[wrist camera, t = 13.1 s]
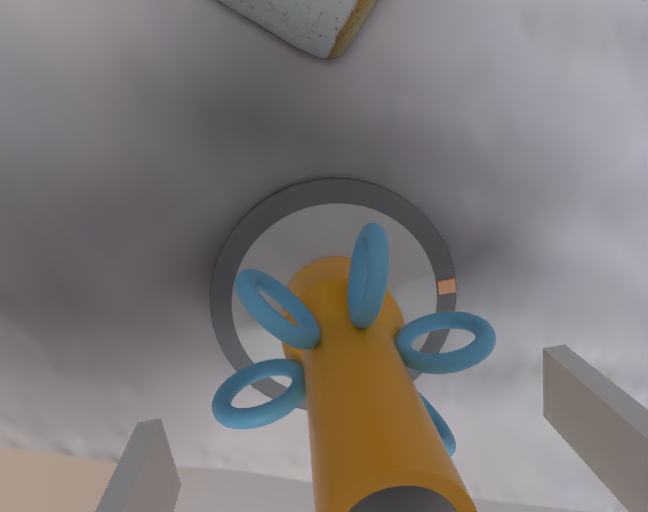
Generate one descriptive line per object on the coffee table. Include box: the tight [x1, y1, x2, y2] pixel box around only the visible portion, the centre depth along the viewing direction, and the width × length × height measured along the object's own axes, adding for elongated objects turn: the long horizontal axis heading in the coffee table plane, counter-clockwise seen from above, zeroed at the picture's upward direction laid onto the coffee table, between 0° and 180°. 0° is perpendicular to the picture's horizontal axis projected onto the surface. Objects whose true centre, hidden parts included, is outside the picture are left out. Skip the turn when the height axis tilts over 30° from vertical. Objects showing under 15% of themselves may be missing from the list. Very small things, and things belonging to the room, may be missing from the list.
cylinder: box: [212, 223, 496, 512], centre depth 18 cm, size 12×10×15 cm
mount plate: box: [210, 178, 456, 410], centre depth 26 cm, size 14×14×1 cm
